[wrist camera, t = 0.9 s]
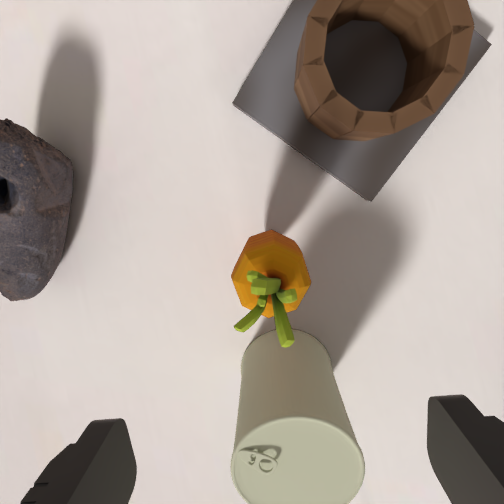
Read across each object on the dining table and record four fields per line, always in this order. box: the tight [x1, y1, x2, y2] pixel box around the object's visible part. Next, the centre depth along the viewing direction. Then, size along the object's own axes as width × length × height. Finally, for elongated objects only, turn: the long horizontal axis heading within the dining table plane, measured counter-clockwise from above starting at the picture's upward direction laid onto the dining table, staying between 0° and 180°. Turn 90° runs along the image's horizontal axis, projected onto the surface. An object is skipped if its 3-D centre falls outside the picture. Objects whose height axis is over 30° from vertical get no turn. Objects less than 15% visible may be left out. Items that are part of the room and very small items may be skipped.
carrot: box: [231, 230, 311, 348], centre depth 22 cm, size 5×5×15 cm
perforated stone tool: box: [0, 118, 73, 301], centre depth 26 cm, size 15×5×7 cm, turn 165°
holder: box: [233, 0, 492, 201], centre depth 22 cm, size 14×14×7 cm
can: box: [231, 329, 365, 504], centre depth 27 cm, size 9×9×12 cm
